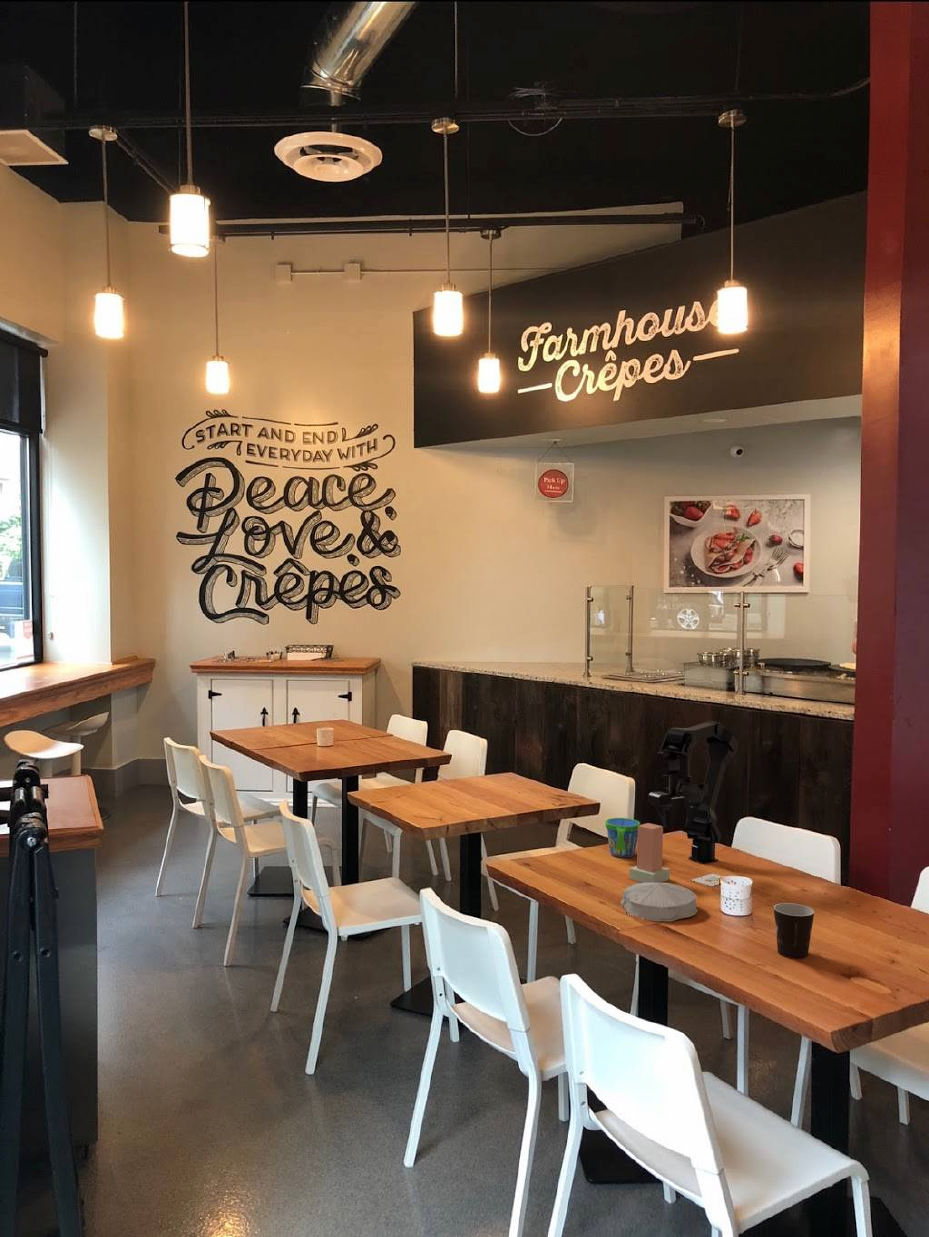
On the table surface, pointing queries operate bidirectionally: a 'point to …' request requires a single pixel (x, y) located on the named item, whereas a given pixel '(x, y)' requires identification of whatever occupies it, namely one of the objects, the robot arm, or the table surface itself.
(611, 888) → the table surface
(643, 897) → the grey round stone disc
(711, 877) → the page
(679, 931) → the table surface
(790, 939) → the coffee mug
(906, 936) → the table surface
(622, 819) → the snack cup
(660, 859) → the tall brick
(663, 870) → the base brick
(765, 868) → the table surface
